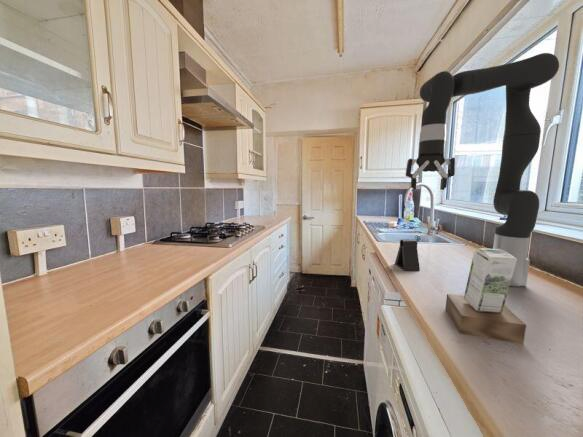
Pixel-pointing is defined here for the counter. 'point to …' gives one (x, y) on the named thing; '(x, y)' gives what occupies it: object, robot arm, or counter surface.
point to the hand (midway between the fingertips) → (427, 189)
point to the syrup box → (489, 279)
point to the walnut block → (484, 321)
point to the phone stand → (408, 256)
